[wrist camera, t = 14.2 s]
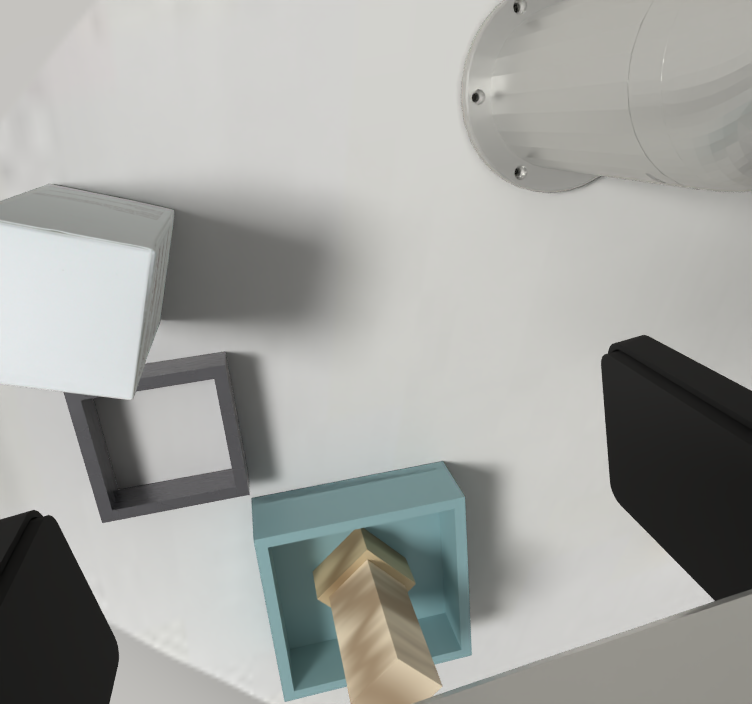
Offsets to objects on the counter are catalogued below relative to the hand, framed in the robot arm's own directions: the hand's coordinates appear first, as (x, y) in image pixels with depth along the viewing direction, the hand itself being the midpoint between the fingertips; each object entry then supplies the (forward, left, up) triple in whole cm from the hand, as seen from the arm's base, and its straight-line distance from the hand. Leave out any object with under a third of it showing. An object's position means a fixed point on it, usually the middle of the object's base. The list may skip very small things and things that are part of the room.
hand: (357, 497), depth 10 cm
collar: (+9, +13, -31) cm, 35 cm away
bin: (-3, +27, -31) cm, 41 cm away
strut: (-3, +27, -30) cm, 40 cm away
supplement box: (+10, +1, -32) cm, 33 cm away
